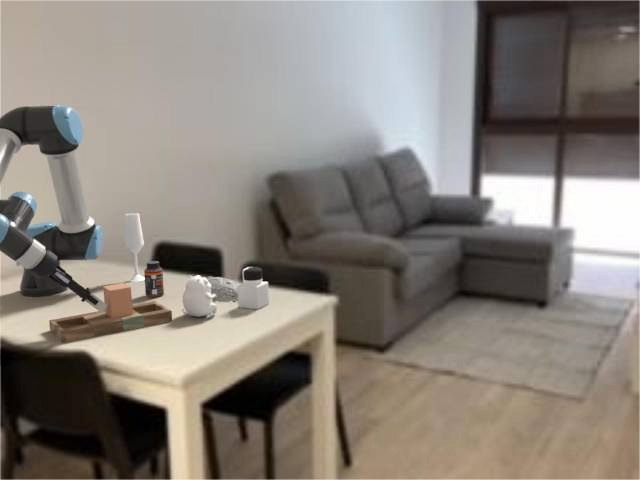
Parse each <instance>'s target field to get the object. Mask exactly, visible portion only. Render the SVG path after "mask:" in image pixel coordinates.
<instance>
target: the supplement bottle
mask: <svg viewBox="0 0 640 480" xmlns="http://www.w3.org/2000/svg"><path fill="white" fill-rule="evenodd" d="M143 271H144V277H145V280H144V285H145V287H144V288H145V289H144V292H145V296H146V297H149V298H158V297H162V296H163V295H164V294H165V293H164V291H165V290H164V272H163V268H162V267H161V266H160V262H159V261H157V260H151V261H147V262H146V268H145V269H144V270H143Z"/></svg>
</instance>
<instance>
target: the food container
mask: <svg viewBox="0 0 640 480" xmlns="http://www.w3.org/2000/svg"><path fill="white" fill-rule="evenodd" d="M206 278H207V280H208V282H209V283H210V284H211V294H215V295H216V296H217V297H215V298H213V299H212V302H214V301H215V303H217V302H216V301H218V302H230V301H238V289H237V286H238V285H239V284H240V283H238V281H236V280H232V279H229V278H225V277H220V276H217V277H215V276H214V277H213V276H207V277H206Z"/></svg>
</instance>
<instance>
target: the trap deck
mask: <svg viewBox="0 0 640 480" xmlns="http://www.w3.org/2000/svg"><path fill="white" fill-rule="evenodd" d="M132 309H133V314H132V315H126V316H121V317H116V318H111V317H110V316H108V315H107V314H106V313H105V310H104V312H103V313H101V312H100V311H98V310H97V311H93V312H88V313H81V314H77V315H70V316H65V317H60V318H55V319H50V320H49V330H50V332H51V333H52V334H53V335H54V336H55V337H56V338H57V339H58V340H59V341H60V342H61V343H62V344H63V343H64V344H65V343H68V342H73V341H78V340H84V339H89V338H93V337H94V338H95V337H98V336H102V335H109V334H113V333H119V332H123V331H129V330H135V329H139V328H144V327H147V326H153V325H159V324H162V323H168V322H172V321H173V311H172V310H171V309H170V308H168V307H166V306H164V305H163V304H161V303H159V302H157V301H154V300H153V301H148V302H143V303H137V304H132Z"/></svg>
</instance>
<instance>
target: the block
mask: <svg viewBox="0 0 640 480" xmlns="http://www.w3.org/2000/svg"><path fill="white" fill-rule="evenodd" d="M102 288H103V299H104V300H103V302H104V303H106V304H107V305H108V307H107V308H106V309H105V313H106V314H107V315H108V316H110V317H111V318H116V317H121V316H126V315H132V314H133V309H132V305H133V298H132V287H131V286H130V285H127V284H126V283H125V282H124V283H123V282H121V283H117V284H110V285H103V287H102Z"/></svg>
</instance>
